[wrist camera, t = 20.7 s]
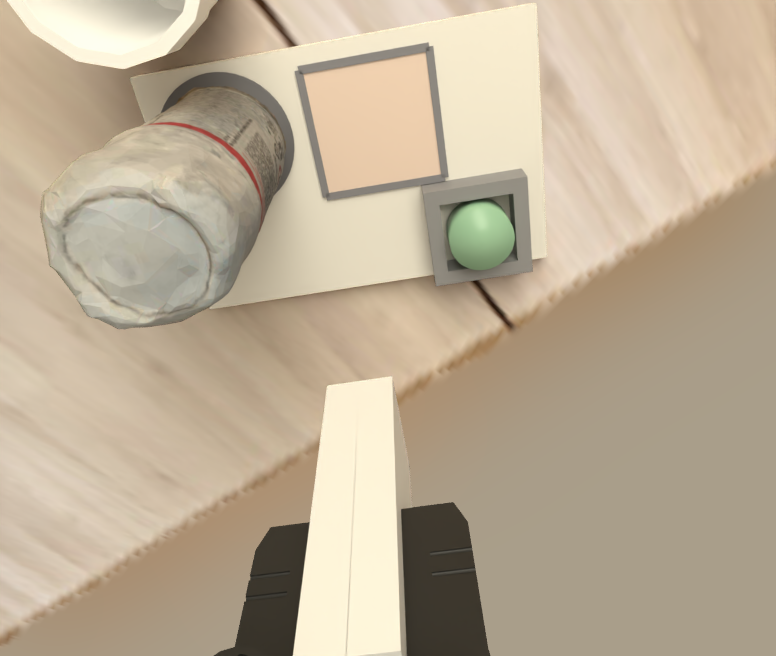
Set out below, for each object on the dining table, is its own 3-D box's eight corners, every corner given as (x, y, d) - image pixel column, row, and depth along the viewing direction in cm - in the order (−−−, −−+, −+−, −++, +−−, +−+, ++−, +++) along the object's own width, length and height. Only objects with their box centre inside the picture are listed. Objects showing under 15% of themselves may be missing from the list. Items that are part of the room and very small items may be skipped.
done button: (449, 259, 46) (453, 274, 43) (442, 202, 43) (446, 215, 41) (509, 250, 45) (516, 265, 43) (505, 192, 43) (512, 204, 41)
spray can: (215, 49, 39) (81, 110, 21) (317, 141, 42) (272, 261, 24) (141, 149, 42) (-28, 275, 24) (241, 228, 45) (153, 391, 27)
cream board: (213, 302, 49) (203, 322, 46) (135, 75, 41) (118, 83, 38) (543, 251, 47) (553, 268, 45) (532, 2, 39) (544, 5, 36)
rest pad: (184, 217, 44) (183, 218, 44) (139, 85, 40) (137, 86, 40) (307, 196, 44) (307, 198, 43) (275, 60, 39) (274, 61, 39)
